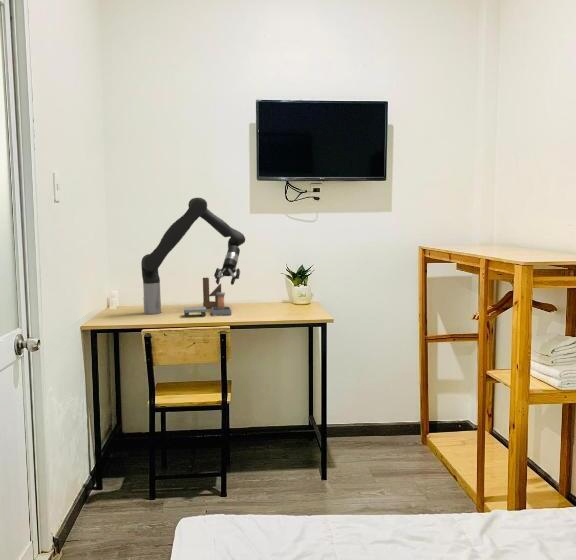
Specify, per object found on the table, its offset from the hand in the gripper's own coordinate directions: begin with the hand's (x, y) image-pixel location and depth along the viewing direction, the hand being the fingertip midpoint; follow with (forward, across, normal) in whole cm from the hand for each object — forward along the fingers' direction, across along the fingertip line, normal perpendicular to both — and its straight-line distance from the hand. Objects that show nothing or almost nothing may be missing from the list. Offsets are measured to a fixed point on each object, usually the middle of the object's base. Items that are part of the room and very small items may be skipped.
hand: (224, 283), depth 330 cm
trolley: (+21, -12, +2) cm, 25 cm away
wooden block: (+3, -12, +20) cm, 24 cm away
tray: (+16, 0, +7) cm, 17 cm away
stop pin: (+15, 0, +7) cm, 17 cm away
